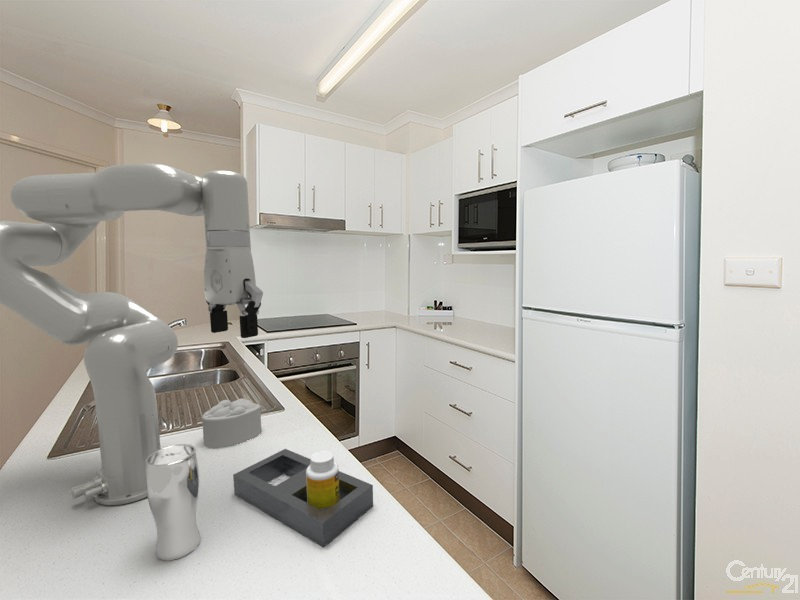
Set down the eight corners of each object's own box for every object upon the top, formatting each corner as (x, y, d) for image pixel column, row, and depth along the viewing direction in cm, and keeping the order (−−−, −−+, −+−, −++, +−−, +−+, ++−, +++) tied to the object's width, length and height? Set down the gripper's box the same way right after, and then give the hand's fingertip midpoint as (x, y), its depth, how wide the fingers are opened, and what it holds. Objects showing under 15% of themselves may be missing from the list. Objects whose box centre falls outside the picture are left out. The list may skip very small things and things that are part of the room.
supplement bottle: (341, 519, 66) (339, 461, 65) (307, 525, 64) (305, 466, 63) (338, 499, 71) (336, 446, 70) (307, 504, 70) (305, 450, 69)
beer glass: (211, 529, 64) (205, 442, 62) (190, 562, 57) (182, 465, 55) (168, 531, 63) (161, 443, 62) (141, 564, 57) (132, 467, 55)
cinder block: (323, 547, 59) (322, 522, 59) (234, 494, 73) (233, 474, 73) (373, 506, 69) (372, 485, 69) (286, 466, 83) (285, 448, 82)
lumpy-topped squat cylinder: (266, 434, 99) (264, 401, 98) (214, 453, 89) (212, 417, 88) (245, 423, 106) (244, 392, 105) (196, 440, 96) (193, 406, 95)
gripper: (184, 243, 73) (190, 333, 74) (237, 239, 63) (243, 343, 65) (221, 244, 79) (227, 327, 81) (275, 240, 69) (280, 335, 71)
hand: (234, 334), depth 73 cm, fingers open, 9 cm apart
